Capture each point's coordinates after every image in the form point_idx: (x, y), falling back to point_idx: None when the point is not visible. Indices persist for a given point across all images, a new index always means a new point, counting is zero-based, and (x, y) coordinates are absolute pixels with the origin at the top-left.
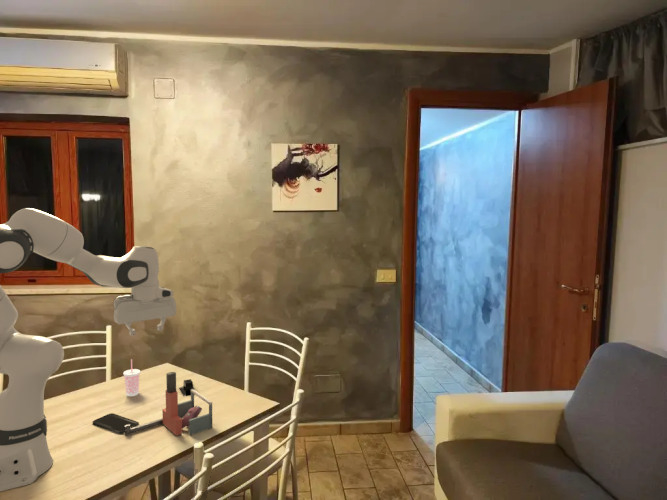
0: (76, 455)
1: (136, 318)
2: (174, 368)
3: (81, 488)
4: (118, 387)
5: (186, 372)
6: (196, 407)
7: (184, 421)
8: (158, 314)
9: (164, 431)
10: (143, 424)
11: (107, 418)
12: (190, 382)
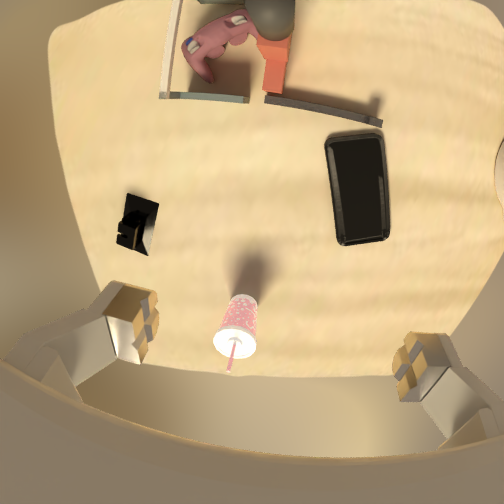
0: (471, 133)
1: (488, 482)
2: None
3: (497, 34)
4: None
5: None
6: (200, 34)
7: None
8: (50, 460)
9: (299, 59)
10: (330, 113)
11: (359, 227)
12: (123, 225)
